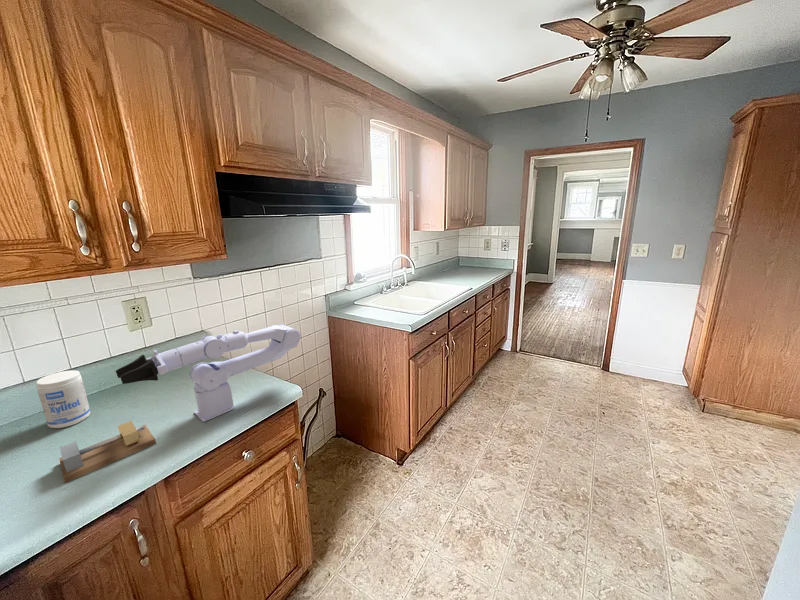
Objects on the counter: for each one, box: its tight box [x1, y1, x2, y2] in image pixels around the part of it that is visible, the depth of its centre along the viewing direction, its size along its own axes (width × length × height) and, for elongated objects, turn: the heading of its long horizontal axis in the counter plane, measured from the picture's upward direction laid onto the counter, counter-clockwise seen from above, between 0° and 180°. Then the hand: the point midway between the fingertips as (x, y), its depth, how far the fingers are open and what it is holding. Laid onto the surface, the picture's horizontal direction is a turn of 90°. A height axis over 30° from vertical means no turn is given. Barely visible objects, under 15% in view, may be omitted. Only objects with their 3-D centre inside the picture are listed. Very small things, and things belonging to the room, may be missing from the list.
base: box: [58, 424, 157, 484], centre depth 87 cm, size 18×10×5 cm, turn 139°
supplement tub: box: [35, 369, 91, 429], centre depth 100 cm, size 10×10×15 cm
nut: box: [117, 420, 140, 446], centre depth 90 cm, size 3×7×3 cm, turn 49°
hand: (118, 377), depth 86 cm, fingers open, 7 cm apart
